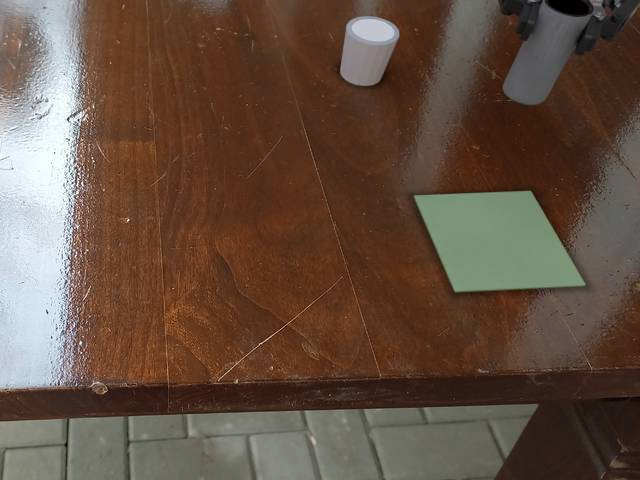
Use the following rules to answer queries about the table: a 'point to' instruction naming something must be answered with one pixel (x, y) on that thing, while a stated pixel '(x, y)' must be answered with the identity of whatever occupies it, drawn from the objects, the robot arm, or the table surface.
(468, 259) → the cloth
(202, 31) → the table surface
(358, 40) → the white short cylinder
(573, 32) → the grey hollow cylinder
